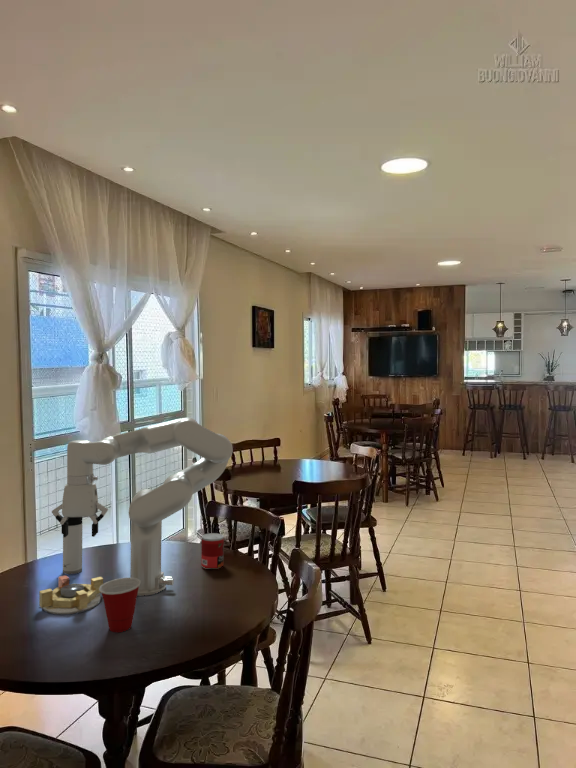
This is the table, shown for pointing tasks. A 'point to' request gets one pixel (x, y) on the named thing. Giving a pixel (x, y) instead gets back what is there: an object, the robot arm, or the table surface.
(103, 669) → the table surface
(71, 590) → the flange
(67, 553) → the travel mug
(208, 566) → the canned food
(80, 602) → the locking ring
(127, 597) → the plastic cup
